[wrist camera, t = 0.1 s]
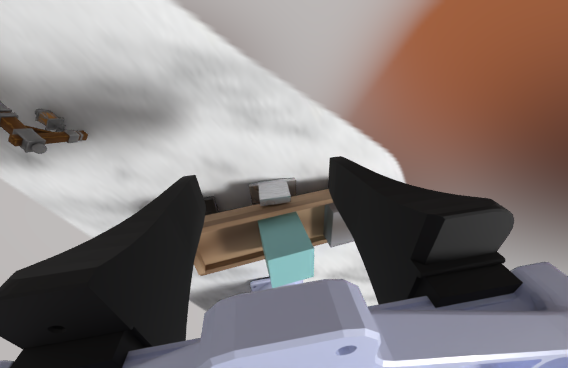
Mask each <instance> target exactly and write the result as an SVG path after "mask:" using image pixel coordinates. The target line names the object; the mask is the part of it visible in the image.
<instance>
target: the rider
mask: <svg viewBox="0 0 568 368" xmlns="http://www.w3.org/2000/svg"><path fill="white" fill-rule="evenodd" d="M258 225H259V231H260V236H261V242H262V247H263V252H264V256H265V260H266V264H267V268H268V273H269V277H270V281H271V285H272V288H276V287H279V286H283V285H286V284H290V283H293V282H296V281H300V280H303V279H307V278H310V277H314V247H313V245H312V243H311V241H310V239H309V237H308V235H307V233H306V231H305V229H304V227H303V224H302V222H301V220H300V218H299V216H298V214H297V212H291V213H287V214H283V215H278V216H274V217H270V218H265V219H261V220H258Z"/></svg>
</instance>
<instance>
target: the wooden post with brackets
mask: <svg viewBox="0 0 568 368" xmlns="http://www.w3.org/2000/svg"><path fill="white" fill-rule="evenodd" d="M35 114H36V115H37V116H36V120H35V121H39V122H41V123H42V124H44V125H45V126H46V128H45V130H43V129H38V128H34V127H30V126H25V125H23V124H22V123H21V122H20V121H19V120H18V115H16V113H12V110H11V109H9V108H7V107H6V106H5V105H4V104H2V103H1V102H0V127H2V128H3V129H4V130H5V131H6V132H8V133H9V134H10V136H9V139H8V141H9V142H10V143H11V144H13V145H14V146H20V147H21V148H22V149H24V151H25V152H26V153H27V152H35V153H38V154H42V153H45V152H46V151H47V148H46V146H45V144H49V143H59V142H67V143H73V142H78V141H82V140H86V139H87V136H88V134H87V133H86V132H84V131H83V130H82V131H78V130H77V131H74V130H66V129H65V126H66V125H63V121H64V118H58V117H57V116H56V115H55V114H53V112H51V111H44V110H42V109H37V110H36V111H35ZM47 130H56V131H55V132H51V131H47ZM60 131H61V132H60Z"/></svg>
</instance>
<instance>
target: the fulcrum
mask: <svg viewBox="0 0 568 368" xmlns="http://www.w3.org/2000/svg"><path fill="white" fill-rule="evenodd" d="M249 189H250V194H251V199H252V205H256V204H260V205H261V206H266V205H274V204H281V203H288V202H291V197H293V196H296V180H295V178H290V179H286V178H284V179H277V180H269V181H261V182H258V183H252V184H249ZM203 199H204V202H205V205H206V210H205V216H206V215H210V214H215V213H219V212H218V209H217V206H216V202H215V199H214V196H213V197H205V198H203Z"/></svg>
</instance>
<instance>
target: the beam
mask: <svg viewBox="0 0 568 368" xmlns="http://www.w3.org/2000/svg"><path fill="white" fill-rule="evenodd" d="M291 212H297V214H298V216H299V218H300V220H301V222H302V224H303V227H304V229H305V231H306V233H307V235H308V237H309V239H310V241H311V243H312V245H313V246H316V245H320V244H324V243H327V242H328V243H329V245H330V247H334V246H338V245H342V244H345V243H349V242H353V241H354V239H353V237H352V235H351V233H350V231H349V229H348V228H347V226H346V224H345V222H344V221H343V219H342V217H341V215H340V214H339V212H338V210H337V208H336V206H335V205H334V203H333V200H332V198H331V195H330V192H329V189H325V190H321V191H316V192H311V193H307V194H302V195H298V196H293V197H291V202H288V203H281V204H274V205H266V206H261V205H260V204H256V205H252V206H247V207H242V208H238V209H233V210H229V211H224V212H219V213H215V214H210V215H206V216H205V220H204V225H203V229H202V233H201V237H200V241H199V244H198V248H197V252H196V256H195V260H194V265H195V268H196V270H197V272H198V274H199V275H201V276H203V275H207V274H210V273H214V272H218V271H222V270H225V269H229V268H233V267H237V266H241V265H244V264H248V263H252V262H256V261H259V260H263V259H265V256H264V252H263V247H262V242H261V236H260V231H259V225H258V220H261V219H265V218H270V217H274V216H278V215H283V214H287V213H291Z"/></svg>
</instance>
